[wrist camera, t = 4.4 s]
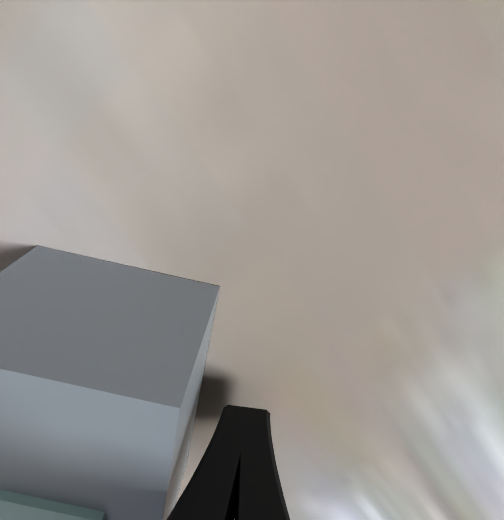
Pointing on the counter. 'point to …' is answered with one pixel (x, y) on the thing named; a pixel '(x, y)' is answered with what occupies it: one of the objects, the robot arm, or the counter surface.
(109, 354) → the finder block
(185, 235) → the counter surface
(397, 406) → the counter surface
